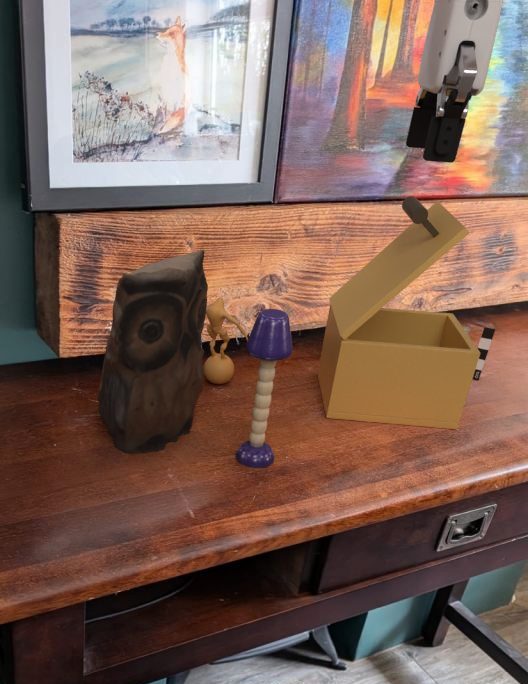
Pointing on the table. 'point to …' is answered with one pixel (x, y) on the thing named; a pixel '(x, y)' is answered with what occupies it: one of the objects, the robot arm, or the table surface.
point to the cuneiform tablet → (481, 348)
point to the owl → (155, 354)
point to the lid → (396, 264)
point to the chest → (398, 369)
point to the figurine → (221, 365)
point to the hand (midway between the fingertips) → (428, 154)
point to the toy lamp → (265, 381)
